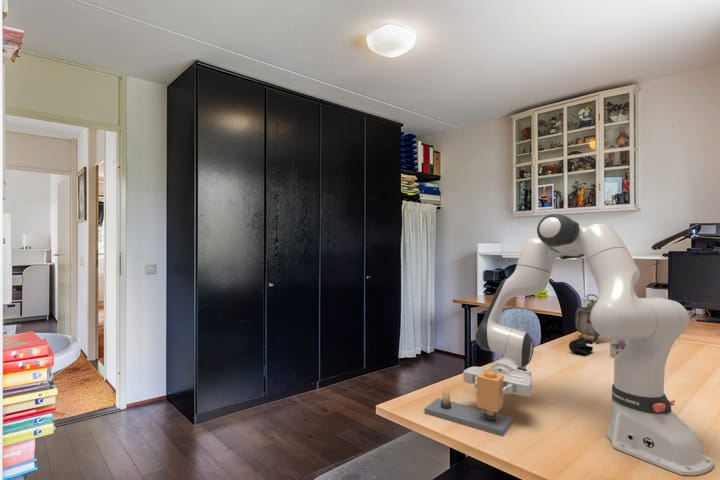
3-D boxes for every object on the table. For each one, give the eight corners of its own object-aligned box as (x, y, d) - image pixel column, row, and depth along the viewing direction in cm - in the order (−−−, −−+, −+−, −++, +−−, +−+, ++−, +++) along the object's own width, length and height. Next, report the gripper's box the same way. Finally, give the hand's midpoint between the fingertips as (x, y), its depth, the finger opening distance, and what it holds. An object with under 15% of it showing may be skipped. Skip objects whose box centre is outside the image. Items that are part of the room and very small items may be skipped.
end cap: (577, 349, 195) (577, 336, 194) (593, 353, 189) (593, 339, 189) (568, 353, 188) (568, 339, 188) (584, 357, 183) (584, 342, 183)
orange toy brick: (503, 405, 117) (503, 371, 117) (497, 412, 112) (497, 377, 112) (483, 400, 121) (483, 367, 120) (476, 406, 116) (477, 372, 116)
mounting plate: (512, 422, 117) (512, 400, 117) (502, 436, 109) (503, 412, 109) (437, 402, 131) (437, 382, 131) (424, 413, 123) (424, 392, 123)
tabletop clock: (574, 338, 217) (575, 292, 217) (587, 336, 220) (588, 292, 220) (597, 344, 203) (598, 296, 203) (611, 343, 206) (611, 296, 206)
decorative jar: (652, 361, 177) (652, 321, 177) (635, 364, 173) (635, 323, 173) (625, 353, 188) (626, 316, 188) (609, 356, 184) (609, 318, 184)
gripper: (471, 359, 133) (455, 370, 122) (536, 372, 121) (525, 385, 110) (471, 377, 133) (455, 390, 122) (536, 392, 121) (525, 408, 110)
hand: (489, 388), depth 116 cm, fingers closed on orange toy brick, 6 cm apart
